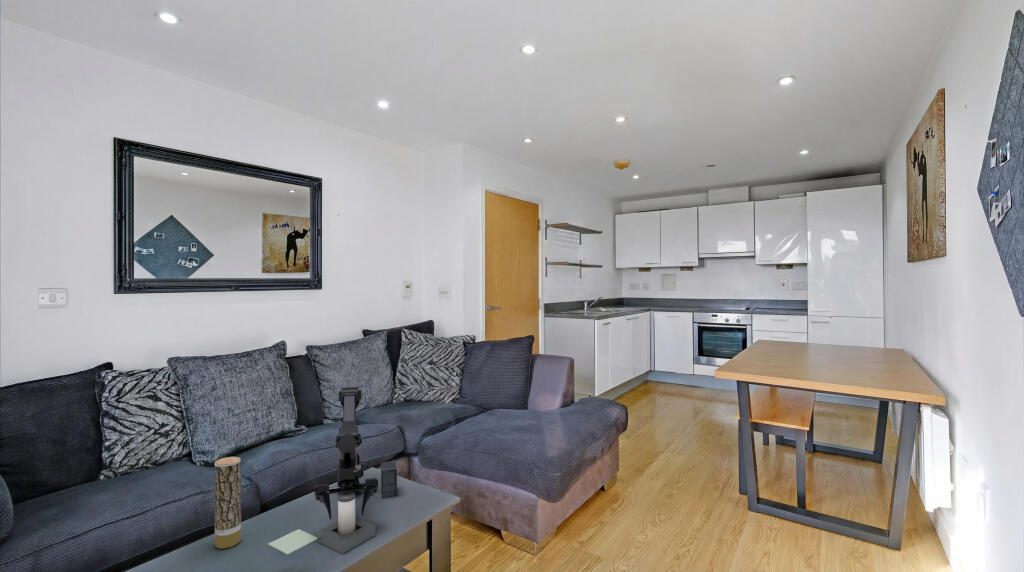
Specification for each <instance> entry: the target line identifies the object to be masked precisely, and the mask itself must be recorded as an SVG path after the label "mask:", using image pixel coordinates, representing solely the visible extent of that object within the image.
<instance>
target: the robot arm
mask: <svg viewBox="0 0 1024 572" xmlns="http://www.w3.org/2000/svg"><path fill="white" fill-rule="evenodd" d="M341 389H342V390H338V402H340V405H341V407H342V408H343V409H342V410H343V411H342V413H343V415H342V425H340V427H339V429H338V435H336V437H335V449H337V455H338V463H337V476H336V477H337V480H336V481H337V482H336V483H337V484H336V485H337V486H330V483H324V484H317V485H315V487H314V498H315V501H319V503H320V504H321V503H322V504H323V505H324V506H325V508H326V511H327V514H328V517H329V521H332V505H331V497H330V495H335V494H337V495H339V494H341V493H343V492H354V493H355V496H357V495H359V494H362V493H363V497H362V504H361V505H362V506H361V516H364V514H365V511H366V508H367V505H368V502H369V501H370V499H371V497H374V495H375V494H377V493H379V479H378V478H377V477H372V478H365V479H364V482H365V483H364V482H363V483H360V479H362V477H364V473H365V472H364V470H365V466H364V464H363V461H361V457H360V454H358V451H357V448H358V447H360V446H361V444H363V436H362V435H361V433H359V427H358V425H357V424H356V423H357V422H356V420H357V419H356V418H357V417H356V413H357V409H358V407H359V406H360V404H361V401H362V399H363V397H362V396H363V395H362V393H363V391H362V389H361V388H360V389H359V386H351V387H342V388H341Z"/></svg>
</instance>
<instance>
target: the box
mask: <svg viewBox="0 0 1024 572" xmlns="http://www.w3.org/2000/svg"><path fill="white" fill-rule="evenodd" d="M396 463H397V461H396V460H392V461H384V462H380V486H381V487H380V493H381V499H388V498H387V497H390V498H394V497H393V496H396V497H398V468H397V467H398V466H397V464H396Z"/></svg>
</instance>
